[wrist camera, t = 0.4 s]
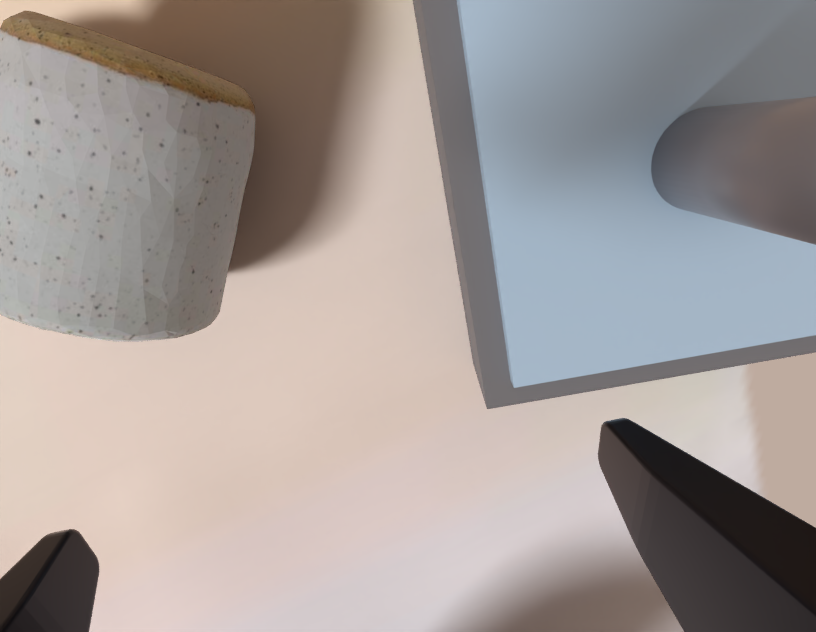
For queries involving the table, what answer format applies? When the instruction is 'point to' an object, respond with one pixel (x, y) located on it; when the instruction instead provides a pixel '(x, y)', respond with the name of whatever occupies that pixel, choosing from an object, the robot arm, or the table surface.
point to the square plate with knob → (645, 176)
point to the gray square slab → (474, 242)
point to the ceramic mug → (115, 184)
